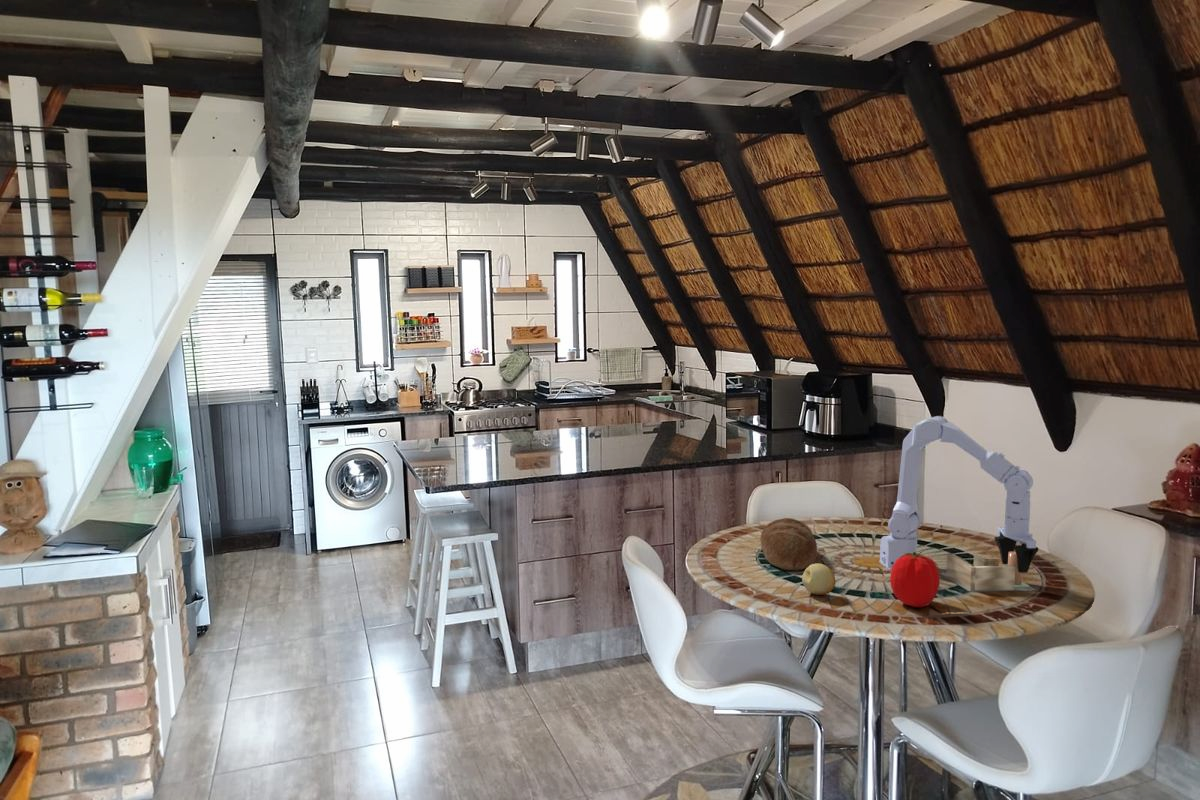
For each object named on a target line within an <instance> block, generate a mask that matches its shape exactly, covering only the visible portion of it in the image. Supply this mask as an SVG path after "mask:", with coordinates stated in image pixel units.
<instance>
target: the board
mask: <svg viewBox="0 0 1200 800" xmlns="http://www.w3.org/2000/svg"><path fill="white" fill-rule="evenodd" d="M939 575H942V576H944V577H945V578H946V579H948V580H950V581H952V582H953V583H954V584H957V585H958V586H959V587H961V588H962V589H964V590H966V591H967V592H973V593H974V592H1017V591H1018V592H1019V591H1020V592H1021V591H1022V592H1023V591H1024V592H1025V591H1026V592H1027V591H1029V592H1031V591H1037V589H1035V588H1034V587H1031V586H1030V585H1029V587H1014V590H972V591H970V590H969V589H967V588H965V587H964V586H962V585H961V584H959V583H957V582H956V581H954V580H953V579H951V578H949V577H948V576H946V572H939Z"/></svg>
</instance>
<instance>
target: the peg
mask: <svg viewBox="0 0 1200 800" xmlns="http://www.w3.org/2000/svg"><path fill="white" fill-rule="evenodd" d="M1007 566H1014V567H1015V582H1014V585H1021V584H1022V582H1023V573H1020V572H1018V564H1017V555H1016V552H1015V550H1014V551H1010V552H1009V553H1008V564H1007Z"/></svg>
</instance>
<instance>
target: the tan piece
mask: <svg viewBox="0 0 1200 800" xmlns="http://www.w3.org/2000/svg"><path fill="white" fill-rule="evenodd" d="M945 573H946V576H948V577H949V578H951V579H953V580H954V581H956V582H957V583H959V584H961V585H962V586H964V587H965V588H967V589H969V590H970V591H972V590H1014V582H1015V567H1014V566H1008V565H1000V558H999V557H985V556H984V555H982V554H980V553H973V565H972V564H970V563H968V562H967V561H965V560H963V559H961V558H959V557H958V556H957V555H954V554H952V553H947V555H946V572H945Z"/></svg>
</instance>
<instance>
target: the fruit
mask: <svg viewBox="0 0 1200 800" xmlns="http://www.w3.org/2000/svg"><path fill="white" fill-rule="evenodd" d="M801 581H802V584H803V587H804V588H805V589H806V591H808V592H809V593H811V594H814V595H816V596H821V595H827V594H830V592H832V591H833V589H834V588H835V587H836V577H835V574H834V572H833V570H832V569H831V568H830V567H828V566H827V565H825V564H823V563H818V562H817V563H816V562H815V563H813V564H812V565H810V566H809V567H807V568H805V569H804V571H803V574H802V576H801Z"/></svg>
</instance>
